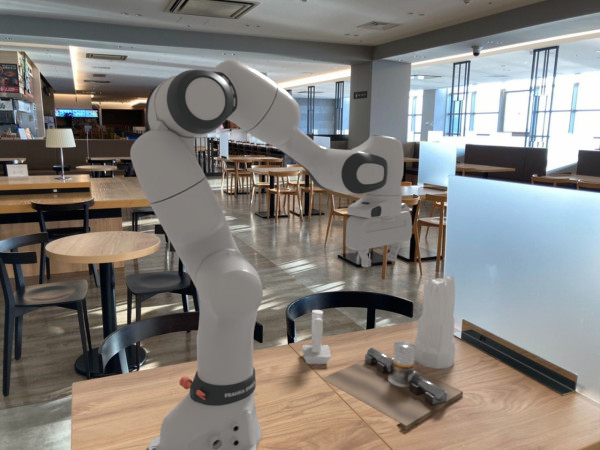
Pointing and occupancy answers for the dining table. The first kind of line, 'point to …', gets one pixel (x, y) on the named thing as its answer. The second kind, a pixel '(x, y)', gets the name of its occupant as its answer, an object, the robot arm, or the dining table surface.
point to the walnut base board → (389, 393)
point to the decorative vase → (436, 325)
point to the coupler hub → (403, 361)
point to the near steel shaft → (426, 389)
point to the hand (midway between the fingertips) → (379, 263)
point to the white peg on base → (316, 342)
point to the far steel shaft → (379, 361)
